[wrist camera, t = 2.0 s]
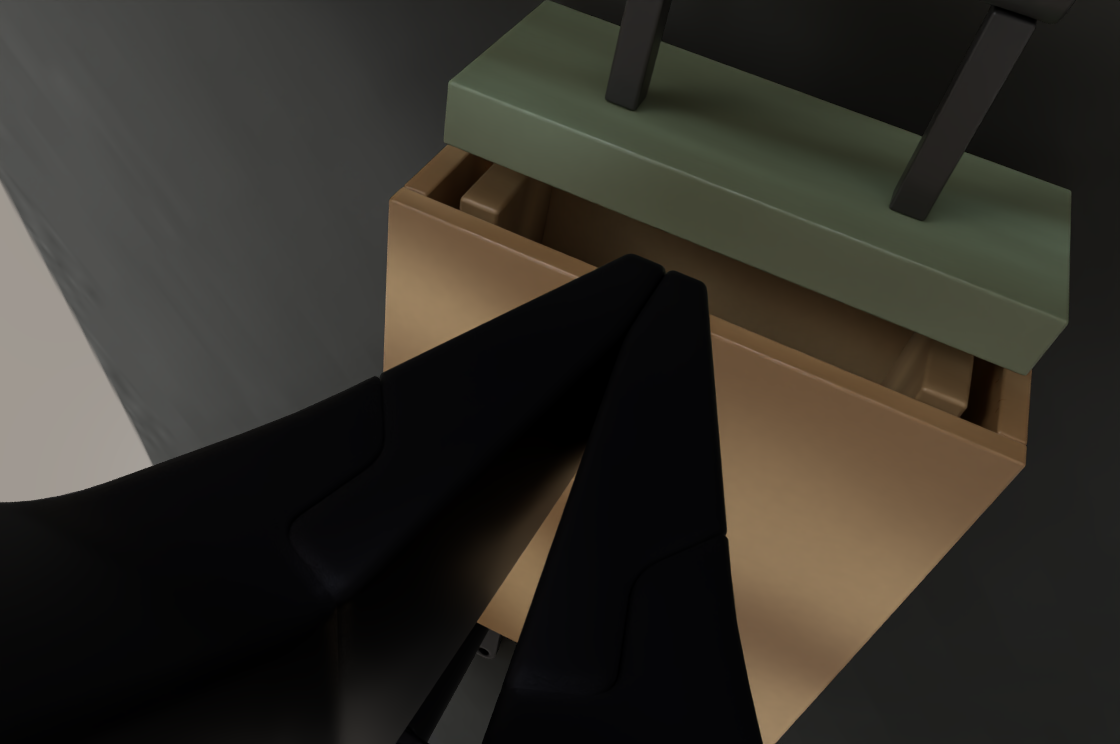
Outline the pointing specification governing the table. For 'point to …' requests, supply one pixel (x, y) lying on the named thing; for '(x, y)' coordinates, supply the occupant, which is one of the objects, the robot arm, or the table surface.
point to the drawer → (777, 194)
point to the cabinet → (743, 451)
